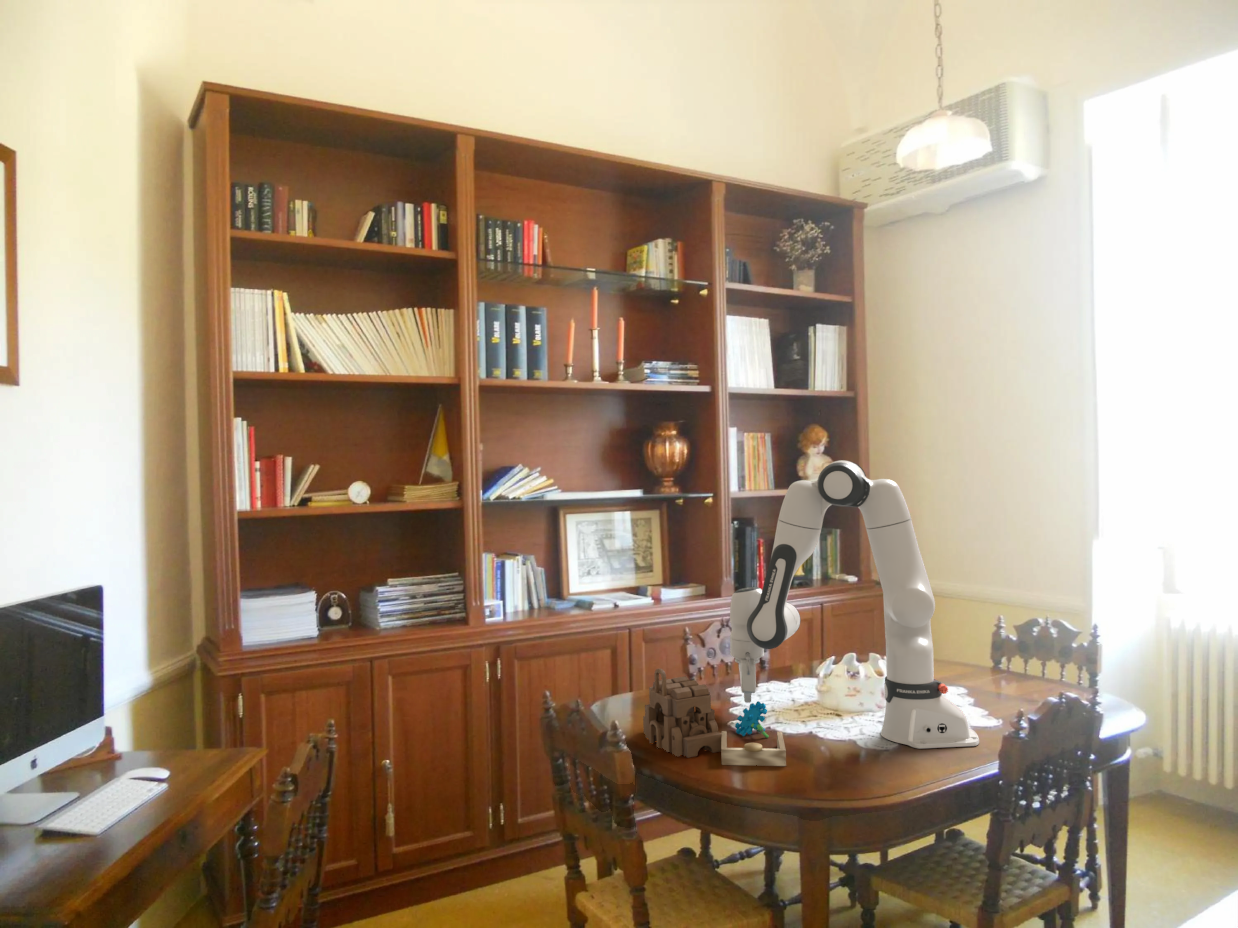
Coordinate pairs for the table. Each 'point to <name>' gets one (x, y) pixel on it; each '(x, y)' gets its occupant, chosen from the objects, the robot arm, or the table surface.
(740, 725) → the gear
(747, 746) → the drawer
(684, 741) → the wooden puzzle
